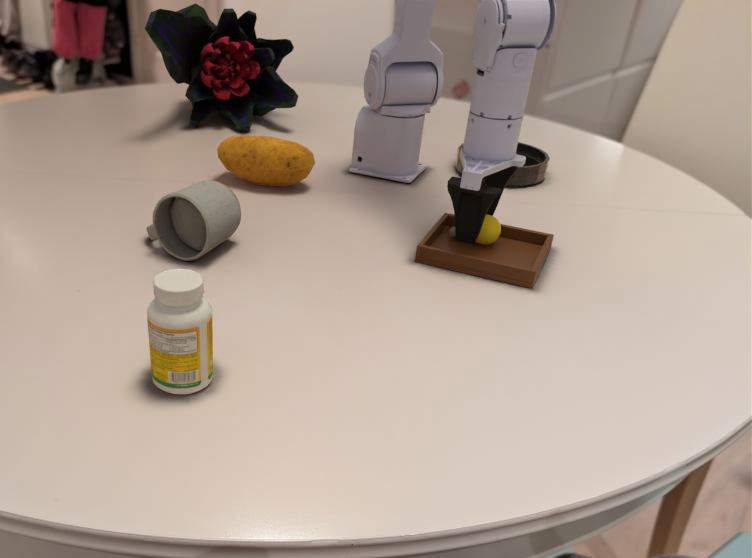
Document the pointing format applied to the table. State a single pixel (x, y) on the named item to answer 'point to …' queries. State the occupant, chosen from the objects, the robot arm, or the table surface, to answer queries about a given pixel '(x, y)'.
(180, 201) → the ceramic mug
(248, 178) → the potato
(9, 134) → the table surface
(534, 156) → the pan
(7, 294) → the table surface
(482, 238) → the light bulb
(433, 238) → the tray
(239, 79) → the decorative plant
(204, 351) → the supplement bottle
